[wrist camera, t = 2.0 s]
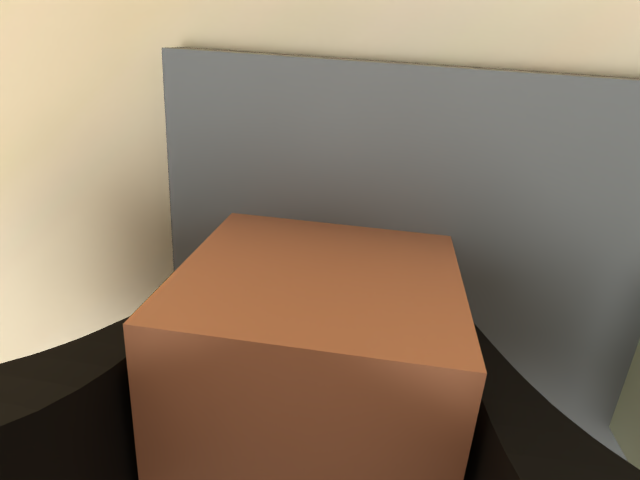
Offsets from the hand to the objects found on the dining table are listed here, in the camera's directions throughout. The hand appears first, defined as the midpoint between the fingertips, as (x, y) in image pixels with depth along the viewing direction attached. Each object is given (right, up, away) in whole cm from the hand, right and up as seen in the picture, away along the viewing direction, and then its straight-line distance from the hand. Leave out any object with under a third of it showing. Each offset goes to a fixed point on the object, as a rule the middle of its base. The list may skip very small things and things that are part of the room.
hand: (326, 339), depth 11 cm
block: (0, 0, +1) cm, 1 cm away
